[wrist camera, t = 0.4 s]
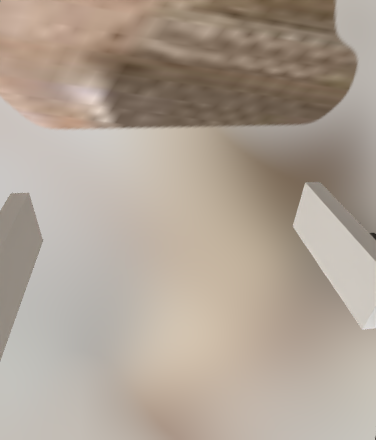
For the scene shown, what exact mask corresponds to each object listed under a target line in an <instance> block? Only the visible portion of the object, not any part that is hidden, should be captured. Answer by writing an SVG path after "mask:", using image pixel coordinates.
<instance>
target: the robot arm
mask: <svg viewBox="0 0 376 440" xmlns="http://www.w3.org/2000/svg"><path fill="white" fill-rule="evenodd" d="M293 227H294V229H295V230H296V232H297V233H298V235H299V236H300V238H301V239H302V241H303V242H304V244H305V245H306V247H307V248H308V250H309V251H310V253H311V254H312V256H313V257H314V259H315V260H316V262H317V263H318V265H319V266H320V268H321V269H322V271H323V272H324V274H325V275H326V277H327V278H328V279H329V281H330V282H331V284H332V285H333V287H334V288H335V290H336V291H337V293H338V294H339V296H340V297H341V299H342V300H343V302H344V303H345V304H346V306H347V308H348V309H349V311H350V312H351V314H352V315H353V317H354V318H355V320H356V321H357V322H358V324H359V326H360V327H361V328H362V329H371V328H376V234H375V233H369V232H368V231H366V229H364V227H362V225H361V224H360V223H359V222H358V221H357V220H356V219H355V218H354V217H353V216H352V215H351V214H350V213H349V212H348V211H347V210H346V209H345V208H344V207H343V206H342V205H341V204H340V203H339V201H338V200H336V199H335V197H334V196H333V195H332V194H331V193H330V192H329V191H328V190H327V189H326V188H325V187H324V186H323V185H322V184H321V183H320V182H307V183H305V186H304V189H303V193H302V196H301V200H300V203H299V207H298V210H297V214H296V217H295V221H294V225H293ZM42 242H43V239H42V236H41V232H40V229H39V225H38V222H37V219H36V215H35V212H34V208H33V205H32V202H31V198H30V195H29V193H15V194H14V193H13V194H10V196H9V197H8V199H7V201H6V202H5V204H4V206H3V207H2V209H1V211H0V360H1V357H2V355H3V352H4V349H5V346H6V343H7V341H8V338H9V335H10V332H11V329H12V326H13V324H14V321H15V318H16V315H17V312H18V310H19V307H20V304H21V301H22V298H23V295H24V292H25V290H26V287H27V284H28V282H29V279H30V276H31V273H32V270H33V268H34V265H35V262H36V259H37V256H38V254H39V251H40V248H41V245H42ZM375 440H376V438H375Z"/></svg>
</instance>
